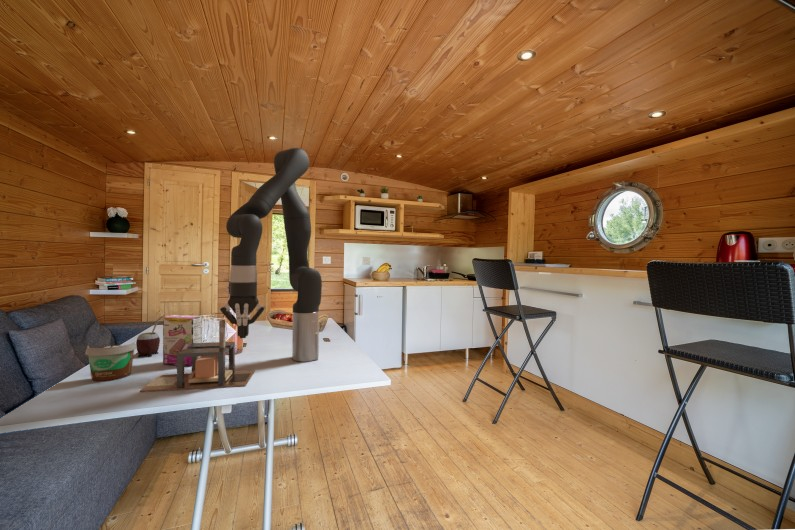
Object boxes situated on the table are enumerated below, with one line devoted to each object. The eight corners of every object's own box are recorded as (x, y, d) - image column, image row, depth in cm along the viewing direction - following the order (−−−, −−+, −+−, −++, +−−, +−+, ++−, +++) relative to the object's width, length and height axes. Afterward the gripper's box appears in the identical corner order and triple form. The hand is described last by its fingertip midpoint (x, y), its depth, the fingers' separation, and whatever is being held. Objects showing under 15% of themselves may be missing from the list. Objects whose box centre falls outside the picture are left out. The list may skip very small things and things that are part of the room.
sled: (232, 373, 108) (232, 318, 108) (225, 380, 101) (226, 322, 101) (197, 374, 106) (197, 318, 106) (188, 382, 99) (188, 323, 99)
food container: (78, 385, 98) (78, 350, 98) (86, 379, 104) (85, 345, 103) (132, 379, 104) (132, 346, 104) (136, 373, 109) (136, 341, 109)
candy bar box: (161, 365, 117) (161, 316, 117) (172, 360, 122) (172, 314, 122) (192, 366, 116) (192, 317, 116) (202, 362, 121) (202, 315, 121)
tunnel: (255, 371, 112) (255, 340, 112) (245, 386, 99) (245, 351, 99) (162, 375, 107) (162, 343, 107) (139, 392, 94) (139, 355, 94)
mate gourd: (134, 355, 128) (134, 315, 128) (159, 351, 134) (159, 312, 134) (139, 359, 124) (139, 317, 123) (165, 354, 129) (165, 314, 129)
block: (219, 371, 106) (219, 355, 106) (214, 377, 101) (214, 360, 101) (201, 372, 105) (201, 355, 105) (195, 377, 100) (195, 360, 100)
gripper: (268, 280, 110) (268, 334, 110) (223, 279, 107) (223, 335, 107) (264, 281, 102) (263, 340, 103) (216, 281, 100) (215, 341, 100)
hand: (242, 337), depth 105 cm, fingers closed
